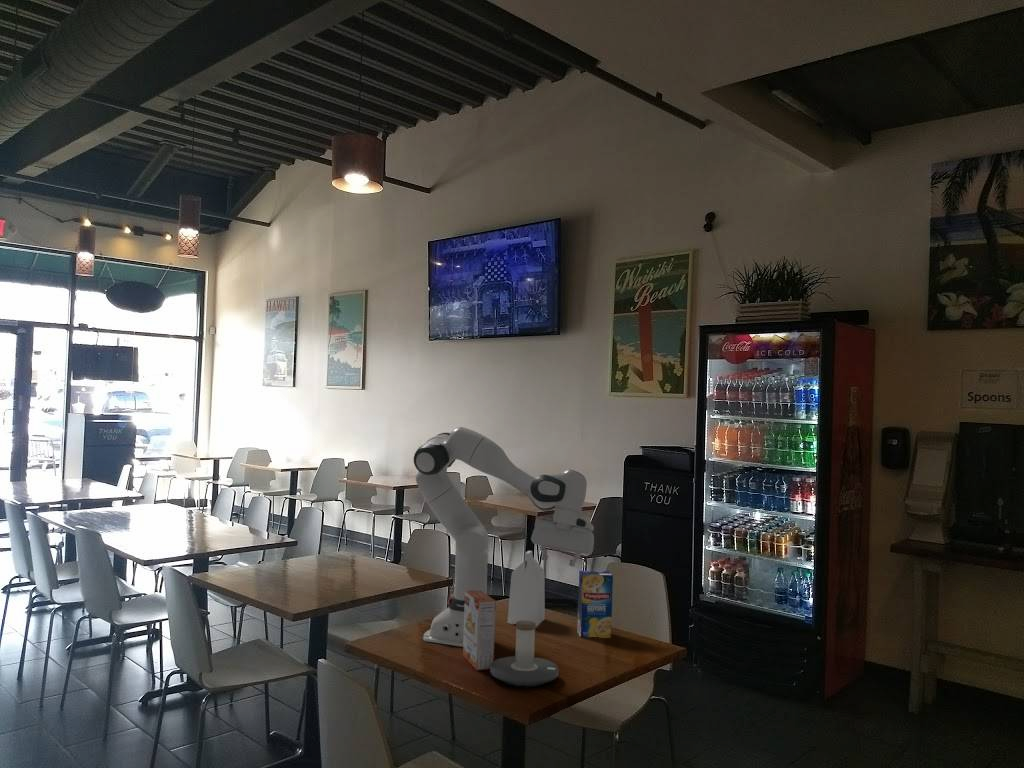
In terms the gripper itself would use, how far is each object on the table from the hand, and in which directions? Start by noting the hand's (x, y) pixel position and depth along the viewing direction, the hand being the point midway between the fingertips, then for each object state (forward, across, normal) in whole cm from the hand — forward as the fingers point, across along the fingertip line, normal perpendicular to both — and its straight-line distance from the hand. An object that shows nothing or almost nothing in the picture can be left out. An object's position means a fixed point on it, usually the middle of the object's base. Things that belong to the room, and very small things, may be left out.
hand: (557, 563), depth 241 cm
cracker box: (+35, -18, -3) cm, 40 cm away
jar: (+32, 0, -10) cm, 33 cm away
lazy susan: (+33, 0, -10) cm, 35 cm away
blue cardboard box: (+19, +5, +43) cm, 47 cm away
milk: (+20, -23, +48) cm, 57 cm away
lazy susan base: (+35, 0, -9) cm, 36 cm away
